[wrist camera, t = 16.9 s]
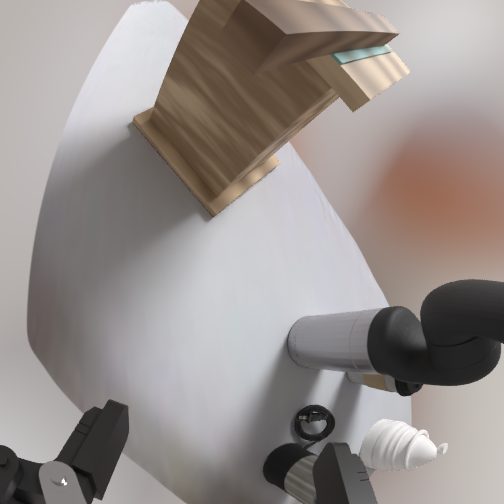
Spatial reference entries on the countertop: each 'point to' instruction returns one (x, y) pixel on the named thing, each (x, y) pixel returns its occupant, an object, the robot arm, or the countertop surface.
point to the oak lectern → (247, 105)
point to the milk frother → (298, 458)
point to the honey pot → (397, 447)
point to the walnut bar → (298, 32)
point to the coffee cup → (385, 383)
